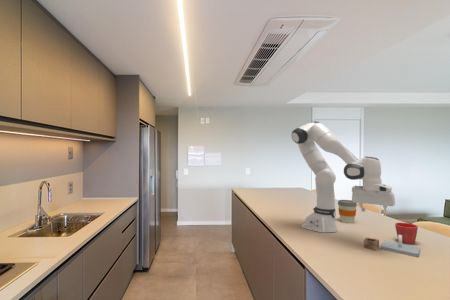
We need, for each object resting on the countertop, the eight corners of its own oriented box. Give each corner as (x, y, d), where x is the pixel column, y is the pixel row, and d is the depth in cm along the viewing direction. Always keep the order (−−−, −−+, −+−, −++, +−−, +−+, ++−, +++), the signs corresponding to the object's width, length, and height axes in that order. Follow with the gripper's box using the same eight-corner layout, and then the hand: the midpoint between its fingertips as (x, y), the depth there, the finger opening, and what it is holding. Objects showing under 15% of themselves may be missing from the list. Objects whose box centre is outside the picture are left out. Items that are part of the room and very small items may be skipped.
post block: (380, 248, 135) (380, 234, 135) (384, 243, 144) (384, 229, 144) (418, 257, 124) (418, 241, 124) (420, 250, 133) (420, 235, 134)
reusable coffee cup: (360, 224, 183) (360, 203, 183) (342, 223, 183) (342, 202, 183) (351, 219, 195) (351, 199, 196) (335, 219, 196) (335, 199, 196)
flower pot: (390, 239, 149) (390, 223, 150) (403, 238, 153) (403, 221, 153) (409, 246, 139) (409, 228, 140) (422, 243, 143) (422, 226, 143)
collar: (363, 247, 136) (363, 240, 136) (366, 244, 141) (366, 237, 141) (376, 250, 132) (376, 242, 132) (378, 247, 137) (378, 239, 137)
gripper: (349, 185, 143) (350, 210, 143) (392, 188, 129) (393, 216, 128) (353, 184, 148) (354, 209, 147) (395, 187, 133) (396, 214, 133)
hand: (372, 212), depth 138 cm, fingers open, 8 cm apart
